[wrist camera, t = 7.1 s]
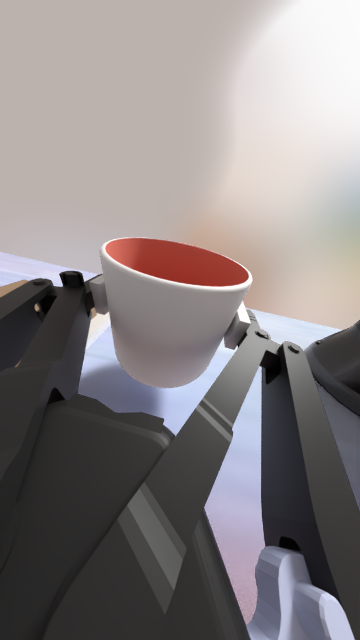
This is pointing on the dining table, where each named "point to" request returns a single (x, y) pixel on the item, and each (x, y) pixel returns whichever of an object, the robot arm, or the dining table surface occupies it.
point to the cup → (169, 306)
